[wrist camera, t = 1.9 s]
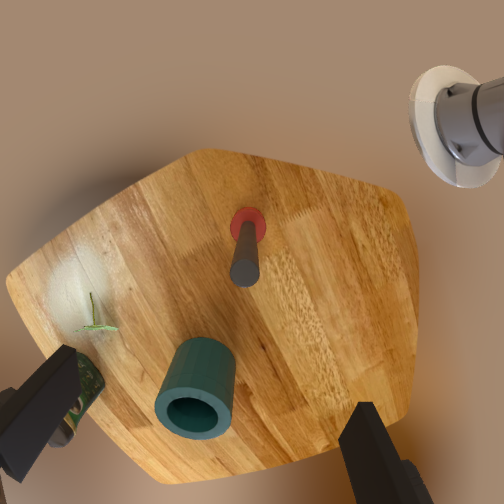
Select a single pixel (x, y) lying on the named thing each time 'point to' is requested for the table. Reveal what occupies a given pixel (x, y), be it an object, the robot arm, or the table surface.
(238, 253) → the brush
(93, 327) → the seedling
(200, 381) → the cup
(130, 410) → the table surface
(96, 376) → the coffee jar
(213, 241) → the table surface
